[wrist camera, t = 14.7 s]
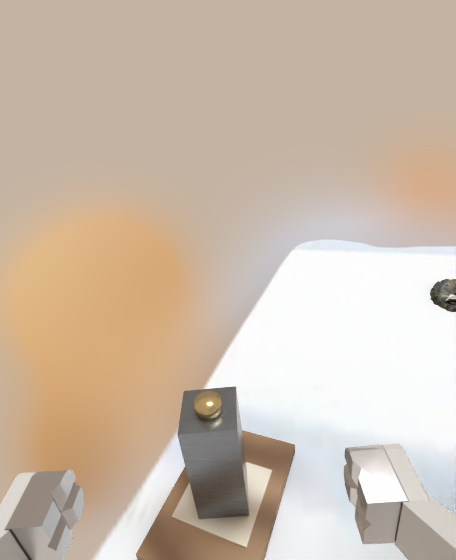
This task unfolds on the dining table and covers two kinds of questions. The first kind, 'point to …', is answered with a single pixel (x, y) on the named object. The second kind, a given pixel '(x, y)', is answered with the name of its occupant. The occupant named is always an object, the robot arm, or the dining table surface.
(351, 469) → the robot arm
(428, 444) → the dining table surface
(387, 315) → the dining table surface
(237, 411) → the block
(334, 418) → the dining table surface
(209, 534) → the walnut board
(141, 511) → the dining table surface
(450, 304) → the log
